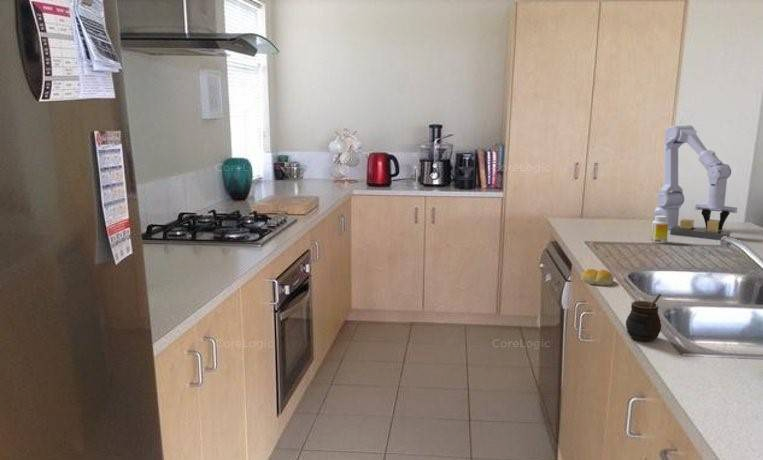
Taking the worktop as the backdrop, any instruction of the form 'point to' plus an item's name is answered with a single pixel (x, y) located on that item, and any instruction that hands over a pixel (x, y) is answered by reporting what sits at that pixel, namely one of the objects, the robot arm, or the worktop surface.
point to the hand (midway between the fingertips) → (713, 229)
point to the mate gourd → (644, 320)
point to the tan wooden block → (713, 226)
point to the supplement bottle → (659, 230)
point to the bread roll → (597, 277)
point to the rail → (699, 233)
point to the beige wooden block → (687, 224)
